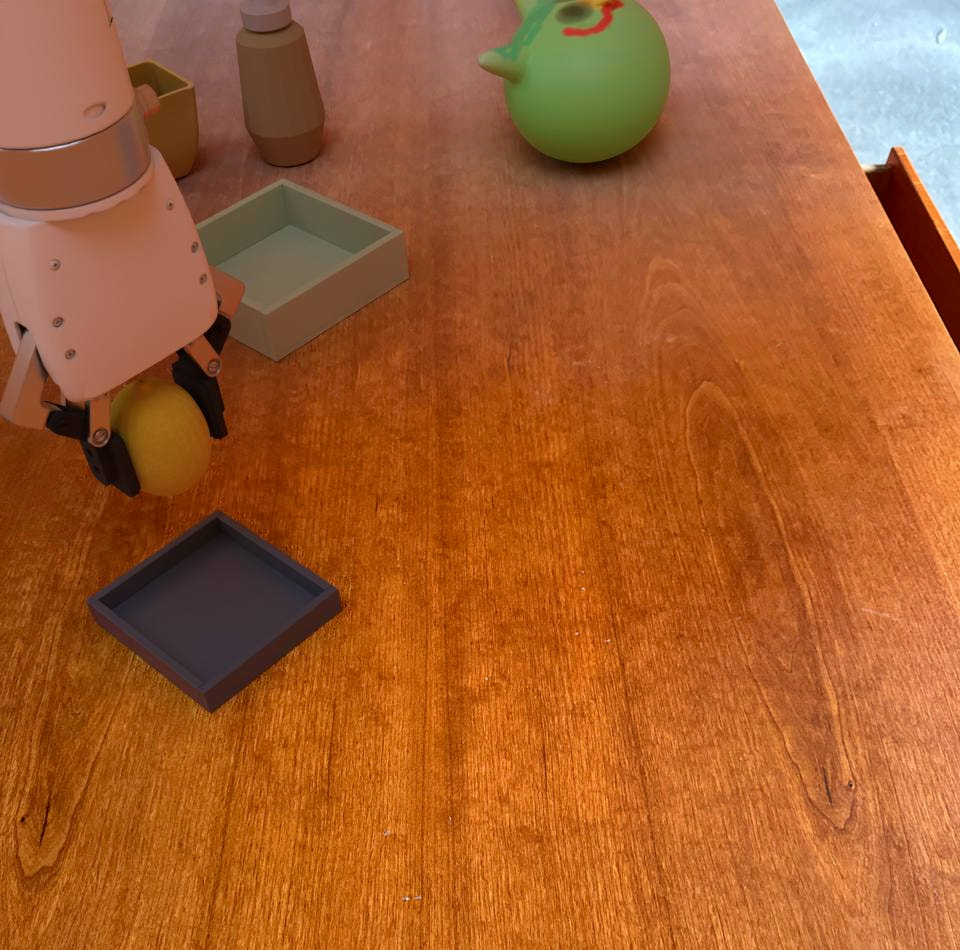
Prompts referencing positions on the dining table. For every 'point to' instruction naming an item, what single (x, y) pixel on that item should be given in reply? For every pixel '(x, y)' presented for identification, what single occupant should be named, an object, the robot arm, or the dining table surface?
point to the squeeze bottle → (278, 84)
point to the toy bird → (583, 76)
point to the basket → (300, 263)
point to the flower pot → (170, 115)
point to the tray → (215, 608)
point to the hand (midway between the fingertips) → (164, 454)
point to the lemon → (162, 435)
